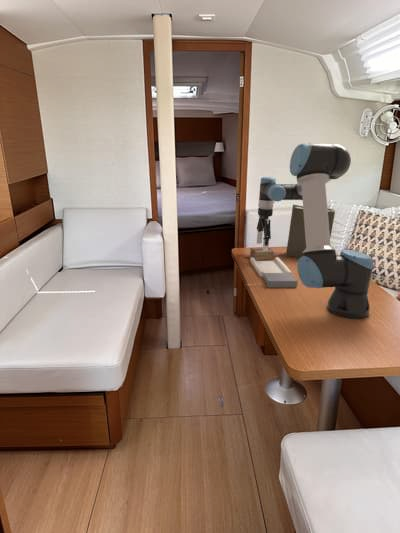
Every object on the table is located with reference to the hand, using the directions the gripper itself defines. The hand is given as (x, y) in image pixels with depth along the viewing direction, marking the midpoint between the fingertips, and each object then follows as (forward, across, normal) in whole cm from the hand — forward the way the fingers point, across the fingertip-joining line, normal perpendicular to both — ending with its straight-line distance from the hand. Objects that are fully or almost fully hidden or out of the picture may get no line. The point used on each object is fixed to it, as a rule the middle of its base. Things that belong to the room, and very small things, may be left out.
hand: (262, 247), depth 197 cm
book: (+7, +4, -27) cm, 28 cm away
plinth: (+6, -34, 0) cm, 35 cm away
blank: (+7, -2, 0) cm, 7 cm away
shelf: (+7, -17, 0) cm, 19 cm away
